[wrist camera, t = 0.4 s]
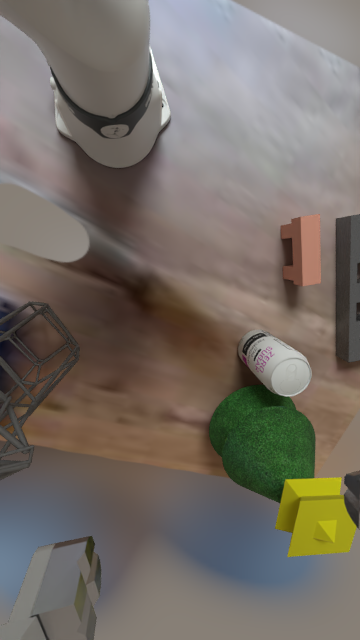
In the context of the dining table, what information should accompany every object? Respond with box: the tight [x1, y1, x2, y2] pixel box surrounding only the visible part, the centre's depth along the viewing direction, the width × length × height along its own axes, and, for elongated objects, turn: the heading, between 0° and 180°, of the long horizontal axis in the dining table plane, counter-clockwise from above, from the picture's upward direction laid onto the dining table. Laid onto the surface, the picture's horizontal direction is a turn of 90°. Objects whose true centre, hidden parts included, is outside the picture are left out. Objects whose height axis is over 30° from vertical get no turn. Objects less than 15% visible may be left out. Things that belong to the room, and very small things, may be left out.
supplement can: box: [238, 330, 311, 397], centre depth 50 cm, size 8×8×15 cm
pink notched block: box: [281, 214, 321, 286], centre depth 50 cm, size 12×4×7 cm, turn 9°
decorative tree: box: [209, 385, 357, 557], centre depth 47 cm, size 19×19×30 cm
